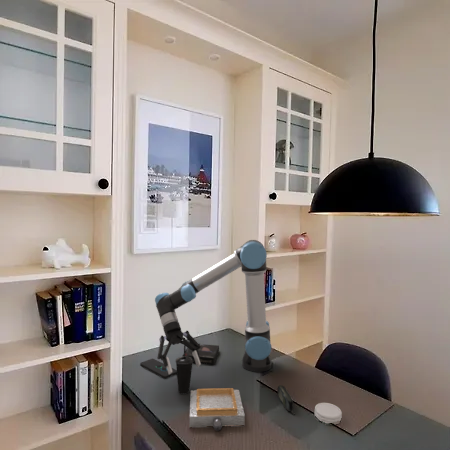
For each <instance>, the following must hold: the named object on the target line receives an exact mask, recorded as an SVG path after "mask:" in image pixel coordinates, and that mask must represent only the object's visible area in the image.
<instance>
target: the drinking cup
mask: <svg viewBox="0 0 450 450" xmlns="http://www.w3.org/2000/svg"><path fill="white" fill-rule="evenodd" d="M186 349H187V347H186V346H185V345H183V354H184V356H183V357H182V356H179V357H177V358H176V359H175V364H176V365H175V366H176V370H177V374H176V380H177V393H179V394H181V395H186V394H188V393H190V388H191V382H192V381H191V379H192V372H193V364H194V363H193V359H192V358H191V357H187V356H185V351H186Z"/></svg>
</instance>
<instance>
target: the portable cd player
mask: <svg viewBox="0 0 450 450" xmlns="http://www.w3.org/2000/svg"><path fill="white" fill-rule="evenodd" d="M198 344H199V345H200V346H201V347H200V348H199V350H198V353H199V355H200V357H199V360H200V363H201V365H209V366H210V365H211V366H214V365H215V364H216V360H217V359H218V358H217V357H218V355H219V352H220V346H219V345H215V344H203V343H202V344H201V343H198ZM192 353H193V351H192V350H190V349H189V348H188V347H186V350H185V356H187V357H191V358H192V359H193V363H192V364H196V362H195V359H194V356H193V354H192ZM183 356H184V353H183V354H182V356H181V357H183Z"/></svg>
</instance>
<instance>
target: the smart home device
mask: <svg viewBox="0 0 450 450" xmlns="http://www.w3.org/2000/svg"><path fill="white" fill-rule="evenodd" d="M139 365H140V367H142V368H144V369H146V370H147V371H149V372H151V373H153V374H155V375H157V376H159V377H160V378H163V379H164V380H165V379H168V378H170V377H173V376H175V375H177V369H176V368H173V367H171V368H172V371H173V372H172V373H171V374H170V375H169V373H168V370H167V367H165V366H164V363H163V362H162V361H160V360H158V359H156V358H150V359H148V360H145V361H142V362H140V364H139Z"/></svg>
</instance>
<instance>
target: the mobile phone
mask: <svg viewBox="0 0 450 450" xmlns="http://www.w3.org/2000/svg"><path fill="white" fill-rule="evenodd" d="M277 396H278V398H279V399H280V402H282V405H283V407H284V409H285V408H286V410H287V411H288V412H291V413H292V414H293V415H294V414H295V415H296V413H295V412H294V400H293V399H292V396H291V394H290V393H289V392H288V390H287V389H286V387H285V386H284V385H280V384H279V385H278V386H277Z"/></svg>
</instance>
